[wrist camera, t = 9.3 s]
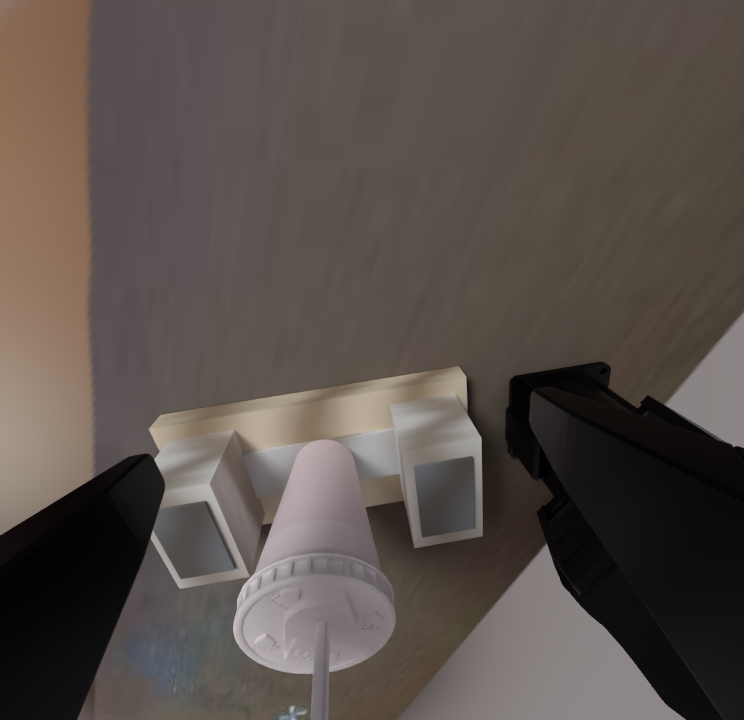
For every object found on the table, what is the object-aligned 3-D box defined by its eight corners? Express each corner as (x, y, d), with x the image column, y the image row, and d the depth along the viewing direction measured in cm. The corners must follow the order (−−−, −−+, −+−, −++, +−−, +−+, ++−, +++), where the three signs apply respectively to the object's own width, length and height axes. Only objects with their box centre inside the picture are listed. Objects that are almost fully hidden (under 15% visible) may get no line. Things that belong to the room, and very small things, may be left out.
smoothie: (394, 446, 23) (465, 765, 10) (343, 513, 25) (349, 851, 12) (302, 404, 21) (245, 728, 8) (256, 480, 23) (150, 837, 10)
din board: (458, 366, 23) (498, 421, 17) (463, 474, 26) (496, 549, 21) (160, 414, 22) (99, 487, 17) (207, 517, 26) (171, 605, 20)
